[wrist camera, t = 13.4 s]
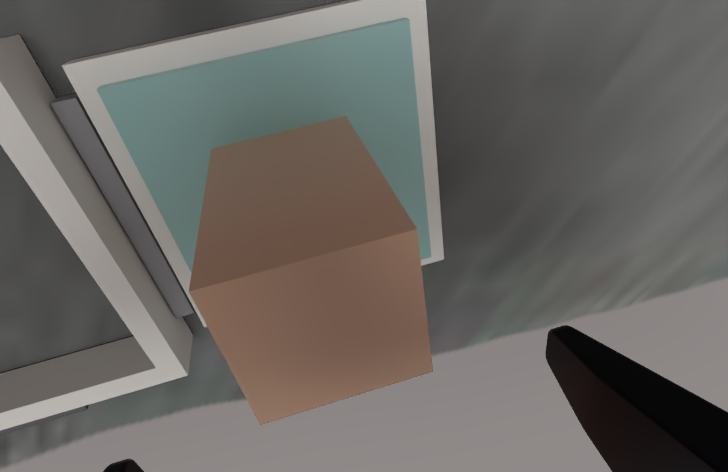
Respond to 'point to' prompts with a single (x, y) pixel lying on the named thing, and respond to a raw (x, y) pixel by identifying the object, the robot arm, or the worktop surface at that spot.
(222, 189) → the block
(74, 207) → the pale grey square frame
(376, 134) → the lid
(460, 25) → the worktop surface
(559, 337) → the robot arm
